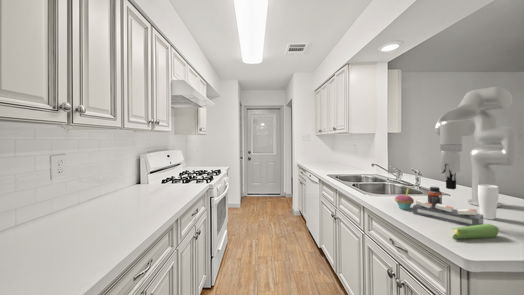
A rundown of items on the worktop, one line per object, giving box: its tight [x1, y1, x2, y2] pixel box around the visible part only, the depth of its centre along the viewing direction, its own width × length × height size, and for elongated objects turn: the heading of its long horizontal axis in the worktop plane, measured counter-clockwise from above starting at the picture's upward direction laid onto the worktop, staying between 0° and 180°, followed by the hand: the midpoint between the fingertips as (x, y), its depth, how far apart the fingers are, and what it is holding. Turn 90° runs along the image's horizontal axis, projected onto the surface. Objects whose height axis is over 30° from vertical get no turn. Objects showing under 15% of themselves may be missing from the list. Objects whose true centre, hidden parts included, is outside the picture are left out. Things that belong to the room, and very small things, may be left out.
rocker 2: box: [435, 203, 454, 212], centre depth 104 cm, size 3×6×2 cm, turn 35°
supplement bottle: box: [427, 186, 443, 206], centre depth 120 cm, size 6×6×11 cm
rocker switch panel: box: [412, 203, 484, 227], centre depth 105 cm, size 8×24×4 cm, turn 35°
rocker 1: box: [415, 199, 432, 208], centre depth 110 cm, size 3×6×2 cm, turn 35°
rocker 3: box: [457, 208, 478, 215], centre depth 97 cm, size 3×6×2 cm, turn 35°
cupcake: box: [394, 186, 415, 211], centre depth 121 cm, size 9×8×12 cm
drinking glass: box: [478, 184, 500, 221], centre depth 104 cm, size 7×7×15 cm
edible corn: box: [451, 223, 499, 240], centre depth 85 cm, size 5×20×5 cm
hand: (451, 188), depth 102 cm, fingers closed
